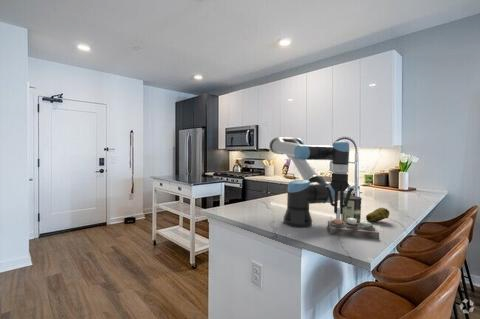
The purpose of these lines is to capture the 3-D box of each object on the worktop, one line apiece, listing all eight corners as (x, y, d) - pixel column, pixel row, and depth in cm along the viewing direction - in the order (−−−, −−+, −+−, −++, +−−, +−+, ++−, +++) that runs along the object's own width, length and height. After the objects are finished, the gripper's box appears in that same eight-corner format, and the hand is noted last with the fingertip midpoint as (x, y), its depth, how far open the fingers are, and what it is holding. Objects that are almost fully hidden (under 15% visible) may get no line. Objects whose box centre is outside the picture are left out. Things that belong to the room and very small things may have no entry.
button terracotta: (333, 225, 118) (333, 221, 118) (332, 222, 122) (332, 218, 122) (342, 226, 117) (343, 222, 116) (341, 223, 121) (341, 219, 121)
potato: (362, 218, 141) (363, 205, 141) (385, 220, 139) (386, 206, 139) (367, 223, 133) (368, 208, 133) (392, 224, 131) (393, 210, 131)
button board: (330, 234, 114) (330, 225, 114) (327, 226, 126) (327, 218, 126) (378, 239, 109) (379, 230, 109) (371, 230, 121) (371, 222, 121)
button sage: (362, 227, 114) (362, 223, 114) (360, 225, 118) (360, 221, 118) (372, 228, 113) (372, 224, 113) (369, 226, 117) (370, 222, 117)
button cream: (348, 223, 116) (348, 219, 116) (346, 221, 120) (346, 217, 120) (357, 224, 115) (357, 220, 115) (355, 222, 119) (355, 218, 119)
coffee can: (357, 219, 139) (358, 195, 139) (362, 225, 129) (364, 199, 129) (338, 218, 141) (339, 194, 141) (342, 223, 131) (343, 198, 131)
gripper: (326, 173, 116) (324, 221, 117) (355, 174, 113) (353, 223, 114) (325, 171, 123) (323, 216, 124) (352, 172, 120) (350, 219, 121)
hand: (338, 220), depth 119 cm, fingers closed
